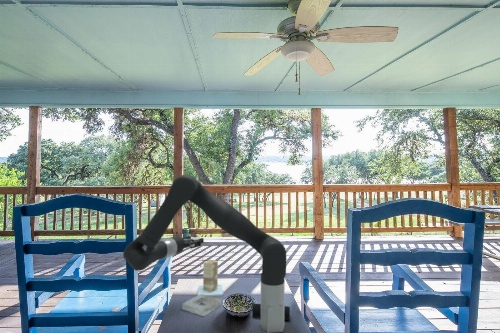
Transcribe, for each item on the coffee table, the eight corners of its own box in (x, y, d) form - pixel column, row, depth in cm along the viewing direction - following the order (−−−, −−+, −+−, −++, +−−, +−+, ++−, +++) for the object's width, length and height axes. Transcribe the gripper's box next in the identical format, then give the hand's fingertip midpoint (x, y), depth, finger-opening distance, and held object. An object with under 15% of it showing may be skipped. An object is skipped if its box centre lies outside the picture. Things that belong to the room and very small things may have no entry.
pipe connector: (256, 294, 128) (290, 297, 125) (256, 306, 128) (290, 309, 125) (252, 306, 117) (289, 309, 114) (252, 319, 117) (289, 323, 114)
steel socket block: (203, 316, 118) (203, 310, 118) (182, 309, 124) (182, 303, 124) (221, 305, 128) (221, 299, 128) (200, 299, 134) (200, 293, 135)
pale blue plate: (223, 295, 139) (223, 293, 139) (198, 297, 137) (198, 295, 137) (221, 286, 151) (221, 284, 151) (198, 287, 149) (198, 285, 149)
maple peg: (211, 292, 140) (211, 263, 141) (203, 290, 143) (203, 262, 143) (217, 289, 145) (217, 261, 145) (209, 287, 147) (209, 259, 148)
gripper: (182, 239, 118) (207, 232, 131) (158, 236, 125) (184, 229, 139) (182, 258, 117) (208, 249, 131) (158, 253, 125) (184, 245, 139)
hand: (196, 239), depth 135 cm, fingers open, 8 cm apart
